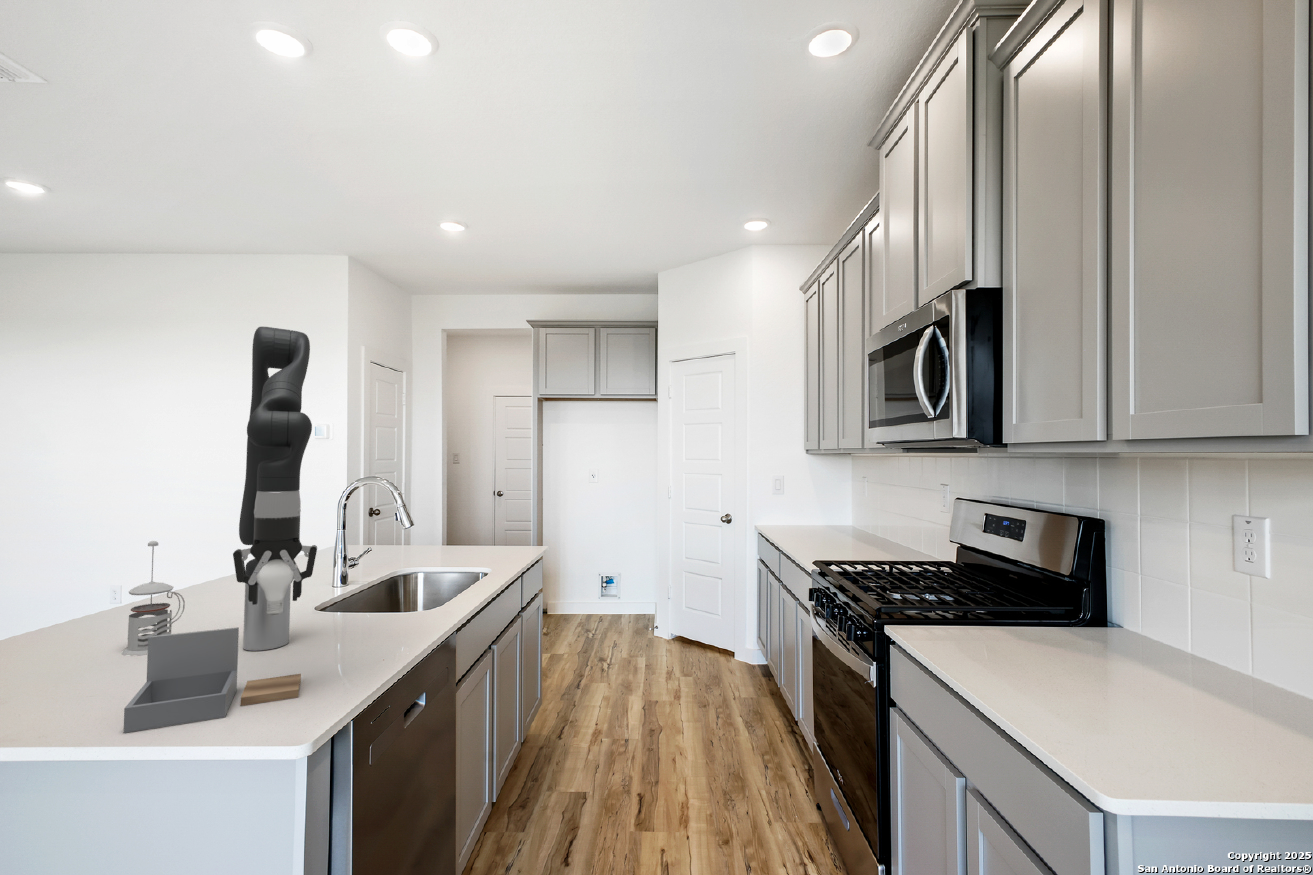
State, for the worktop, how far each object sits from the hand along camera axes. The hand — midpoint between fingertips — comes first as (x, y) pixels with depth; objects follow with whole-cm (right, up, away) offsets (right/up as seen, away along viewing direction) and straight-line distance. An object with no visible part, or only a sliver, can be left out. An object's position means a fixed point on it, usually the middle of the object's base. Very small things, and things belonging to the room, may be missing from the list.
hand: (275, 601), depth 116 cm
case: (-11, -17, -8) cm, 22 cm away
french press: (-44, -18, +25) cm, 54 cm away
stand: (0, -17, -1) cm, 17 cm away
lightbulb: (0, -3, 0) cm, 3 cm away
